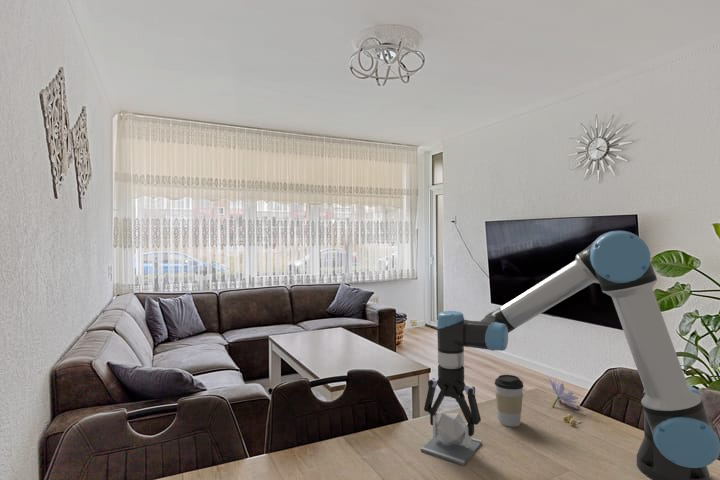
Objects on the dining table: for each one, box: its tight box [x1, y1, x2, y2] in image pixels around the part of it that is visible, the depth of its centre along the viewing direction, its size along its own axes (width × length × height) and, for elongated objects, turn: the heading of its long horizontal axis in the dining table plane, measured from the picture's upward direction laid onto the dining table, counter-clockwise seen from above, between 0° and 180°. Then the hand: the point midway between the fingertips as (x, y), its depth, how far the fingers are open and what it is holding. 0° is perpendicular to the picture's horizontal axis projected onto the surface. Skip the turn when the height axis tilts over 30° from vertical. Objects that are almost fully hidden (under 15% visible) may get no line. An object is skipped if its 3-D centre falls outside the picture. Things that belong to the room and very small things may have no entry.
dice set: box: [562, 413, 582, 427], centre depth 137 cm, size 5×5×2 cm
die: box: [437, 412, 466, 444], centre depth 122 cm, size 8×9×10 cm
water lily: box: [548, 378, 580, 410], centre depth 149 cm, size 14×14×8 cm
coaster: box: [420, 434, 483, 466], centre depth 122 cm, size 13×14×1 cm
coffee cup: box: [494, 374, 524, 427], centre depth 138 cm, size 9×9×15 cm
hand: (451, 440), depth 122 cm, fingers closed on die, 9 cm apart
